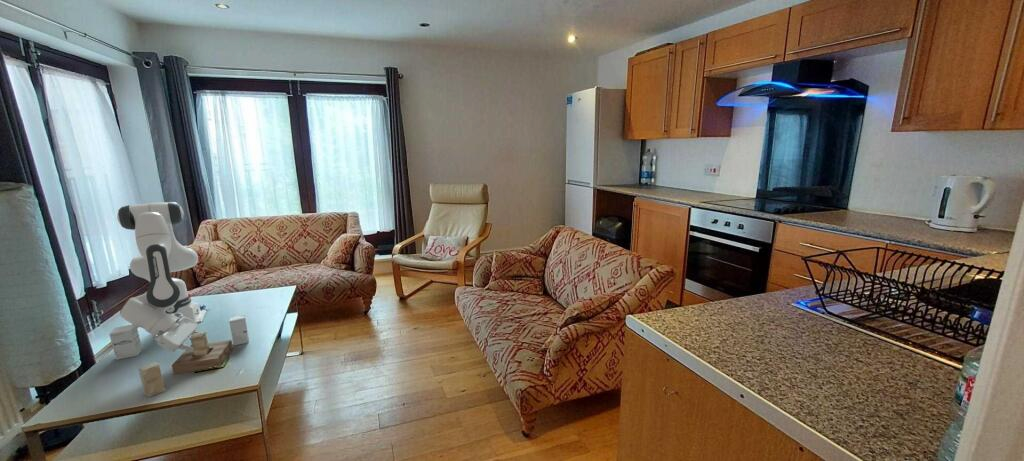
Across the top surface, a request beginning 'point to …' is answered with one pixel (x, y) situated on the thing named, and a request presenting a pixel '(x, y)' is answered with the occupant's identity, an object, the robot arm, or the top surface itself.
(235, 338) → the skincare box
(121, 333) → the supplement box
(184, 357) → the square hole block
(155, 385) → the box
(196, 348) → the peg
